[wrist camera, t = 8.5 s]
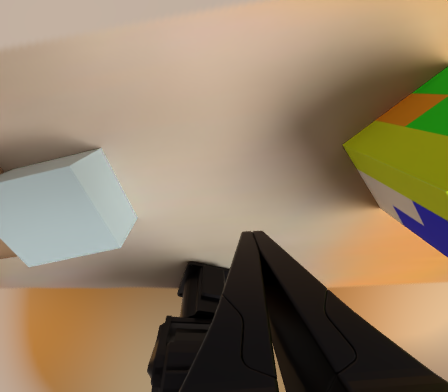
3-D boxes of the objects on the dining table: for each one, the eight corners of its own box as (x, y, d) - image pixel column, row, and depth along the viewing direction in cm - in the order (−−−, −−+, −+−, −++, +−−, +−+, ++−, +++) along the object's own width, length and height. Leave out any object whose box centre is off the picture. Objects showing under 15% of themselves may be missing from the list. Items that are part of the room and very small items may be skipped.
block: (138, 216, 23) (120, 247, 18) (63, 232, 23) (28, 267, 19) (102, 147, 19) (69, 165, 14) (13, 168, 19) (-45, 193, 15)
